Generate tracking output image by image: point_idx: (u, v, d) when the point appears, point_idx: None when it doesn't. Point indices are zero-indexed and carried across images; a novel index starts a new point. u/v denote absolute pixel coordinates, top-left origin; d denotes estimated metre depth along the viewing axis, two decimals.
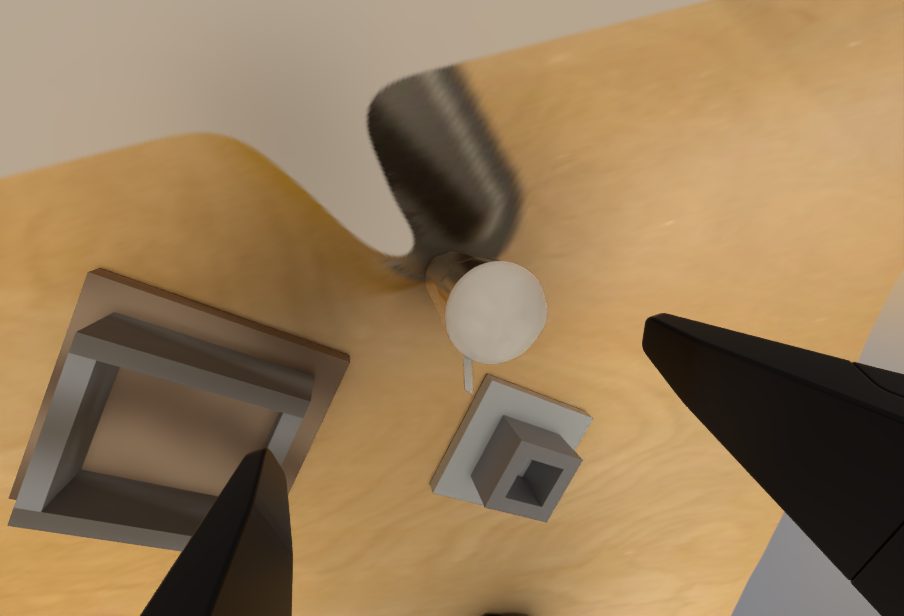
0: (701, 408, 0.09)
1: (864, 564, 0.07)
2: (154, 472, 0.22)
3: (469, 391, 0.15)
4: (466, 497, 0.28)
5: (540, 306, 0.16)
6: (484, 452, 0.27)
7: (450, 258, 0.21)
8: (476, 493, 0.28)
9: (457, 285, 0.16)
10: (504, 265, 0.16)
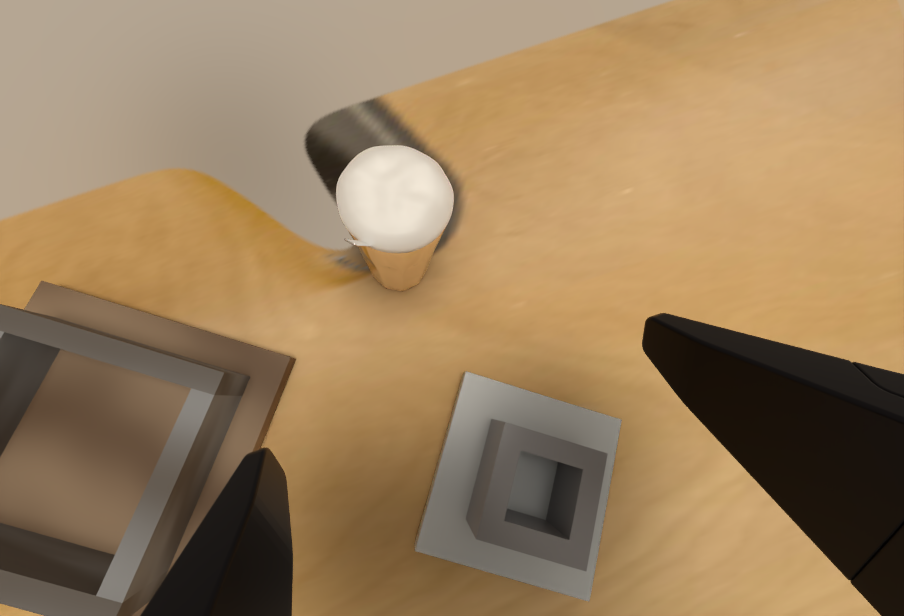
0: (701, 408, 0.09)
1: (864, 564, 0.07)
2: (50, 516, 0.18)
3: (350, 241, 0.13)
4: (467, 559, 0.19)
5: (435, 172, 0.15)
6: (477, 476, 0.20)
7: None
8: (481, 551, 0.19)
9: (345, 169, 0.15)
10: None
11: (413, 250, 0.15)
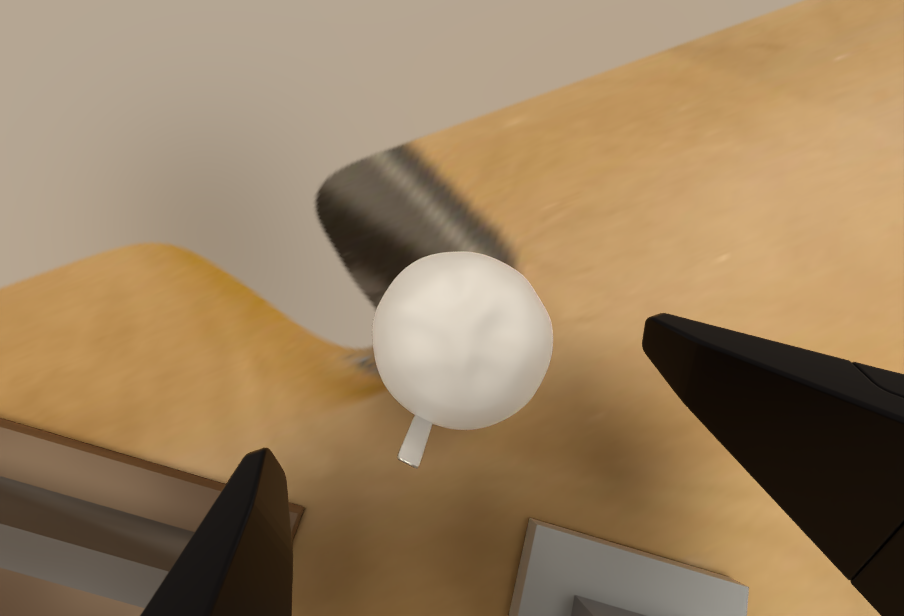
0: (701, 408, 0.09)
1: (864, 563, 0.07)
2: None
3: (408, 460, 0.07)
4: None
5: (529, 301, 0.10)
6: None
7: None
8: None
9: None
10: (454, 252, 0.10)
11: None
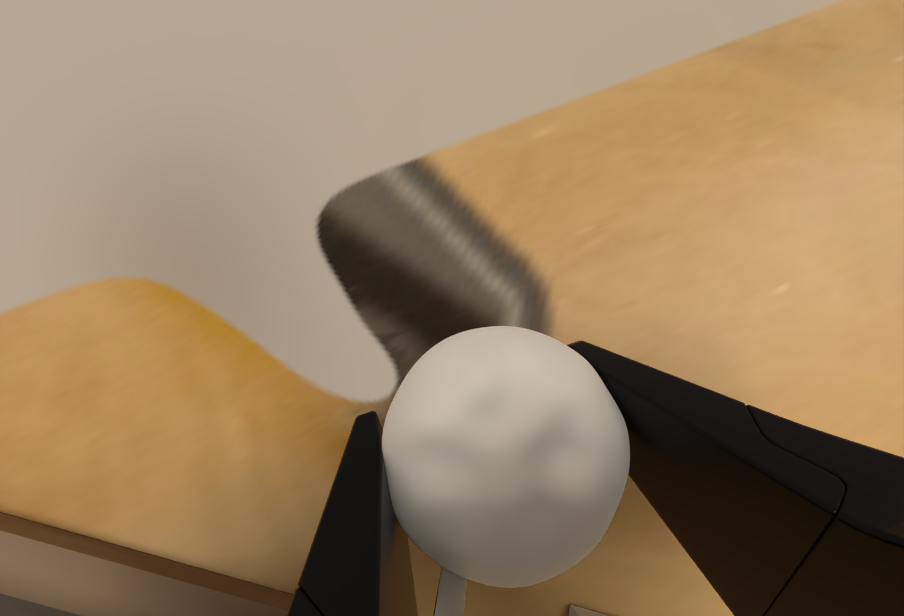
0: None
1: None
2: None
3: None
4: None
5: (599, 406, 0.07)
6: None
7: None
8: None
9: (398, 389, 0.07)
10: (492, 330, 0.08)
11: None
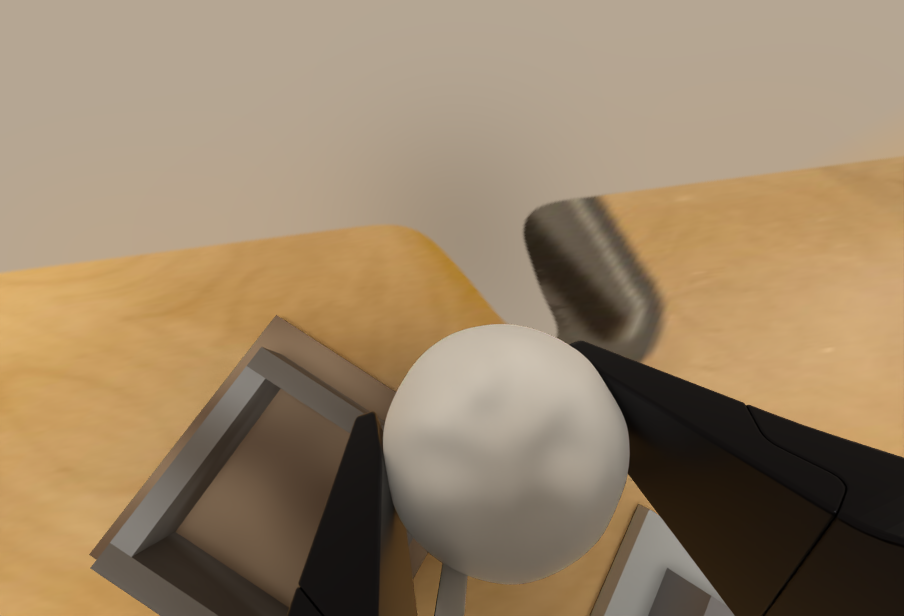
0: None
1: None
2: (245, 555, 0.18)
3: None
4: None
5: (599, 404, 0.07)
6: None
7: None
8: None
9: (399, 387, 0.07)
10: (493, 328, 0.08)
11: None
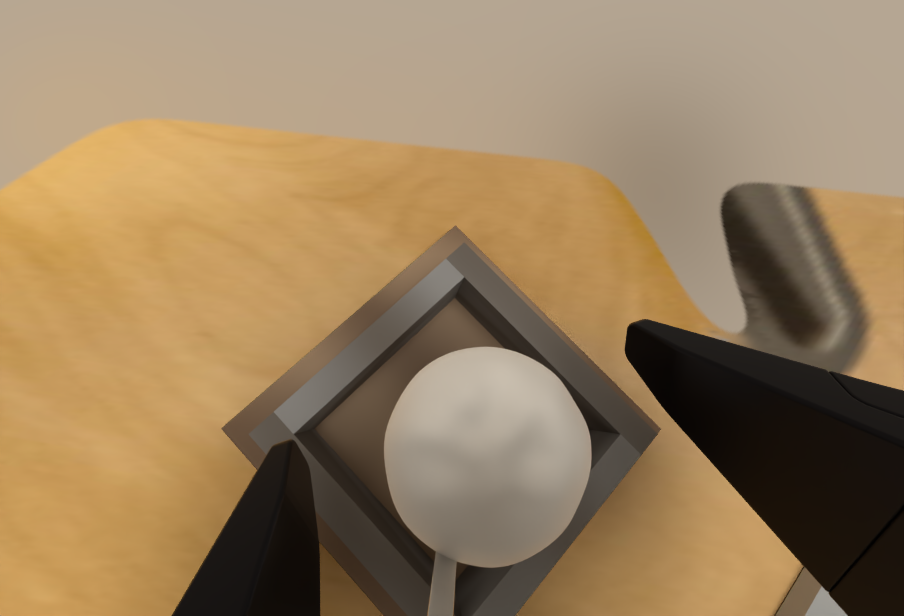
0: (682, 416, 0.09)
1: (840, 575, 0.07)
2: (383, 475, 0.16)
3: None
4: None
5: (565, 414, 0.08)
6: None
7: None
8: None
9: (397, 402, 0.09)
10: (477, 351, 0.09)
11: None
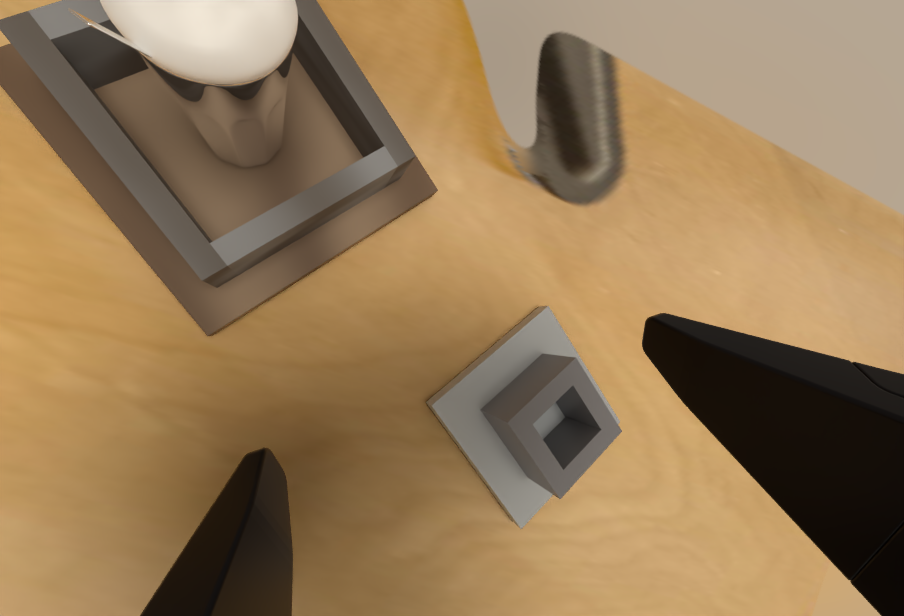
0: (701, 408, 0.09)
1: (864, 564, 0.07)
2: (167, 153, 0.17)
3: (81, 16, 0.08)
4: (462, 439, 0.21)
5: None
6: (508, 385, 0.22)
7: None
8: (475, 441, 0.21)
9: None
10: None
11: (222, 83, 0.11)
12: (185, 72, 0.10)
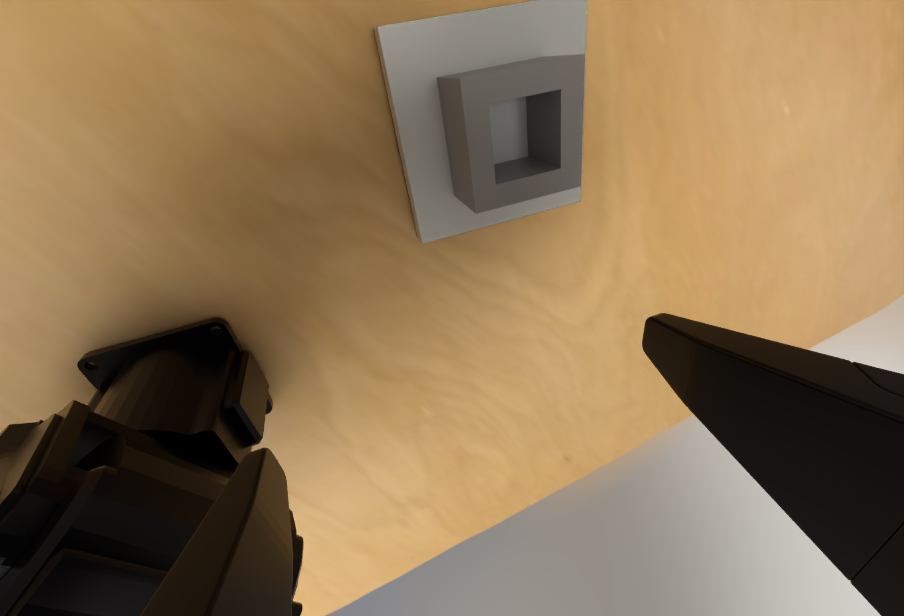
0: (701, 408, 0.09)
1: (864, 564, 0.07)
2: None
3: None
4: (399, 100, 0.16)
5: None
6: (484, 68, 0.17)
7: None
8: (414, 113, 0.17)
9: None
10: None
11: None
12: None
